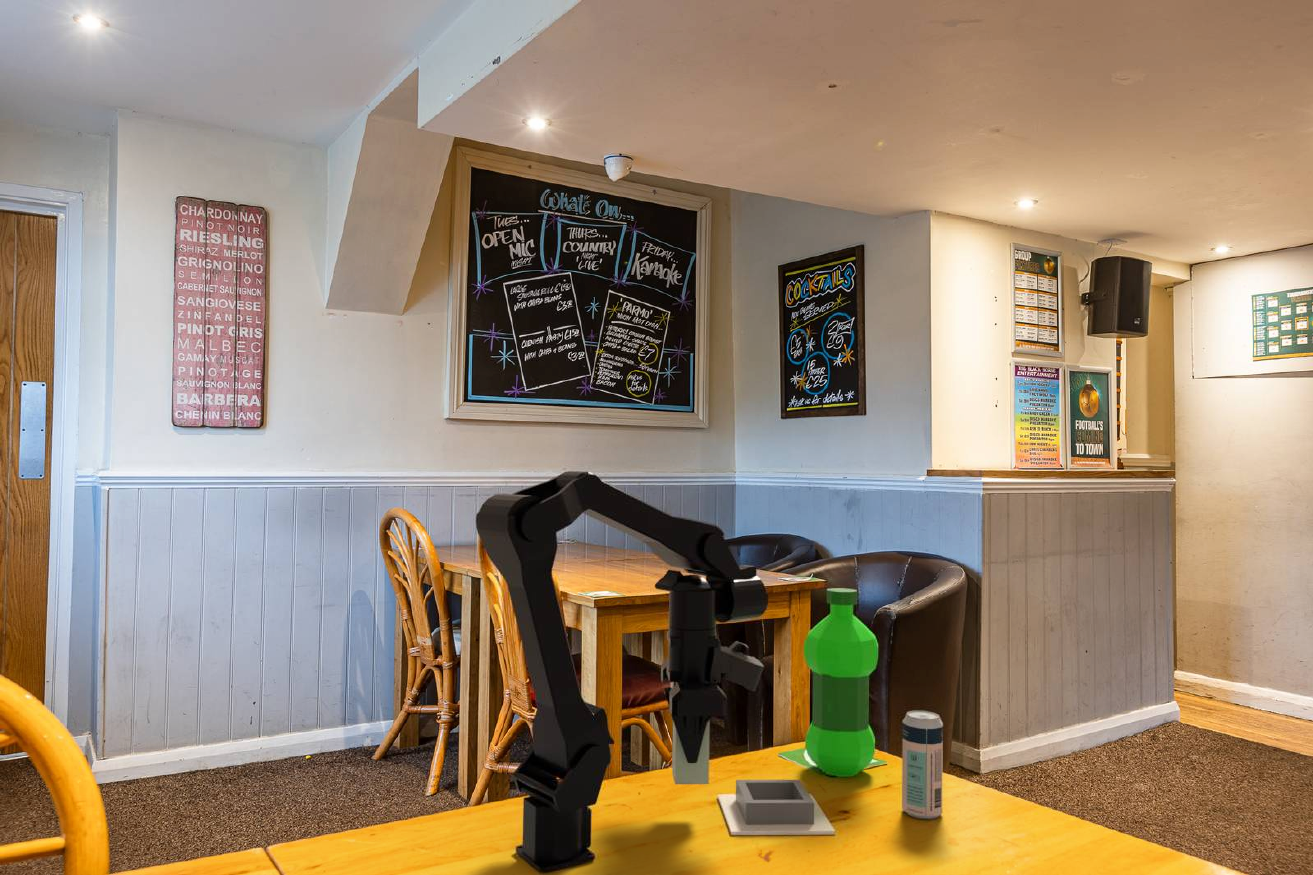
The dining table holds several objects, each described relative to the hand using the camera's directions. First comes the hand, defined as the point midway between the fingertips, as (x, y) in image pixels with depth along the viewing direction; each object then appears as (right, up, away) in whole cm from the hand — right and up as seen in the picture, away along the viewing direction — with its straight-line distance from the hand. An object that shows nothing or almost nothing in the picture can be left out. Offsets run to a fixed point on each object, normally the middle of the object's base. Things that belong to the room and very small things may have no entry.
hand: (690, 757), depth 112 cm
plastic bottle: (+21, -8, +18) cm, 29 cm away
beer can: (+28, -8, +2) cm, 29 cm away
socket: (+10, -7, +1) cm, 12 cm away
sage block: (0, -3, 0) cm, 3 cm away
